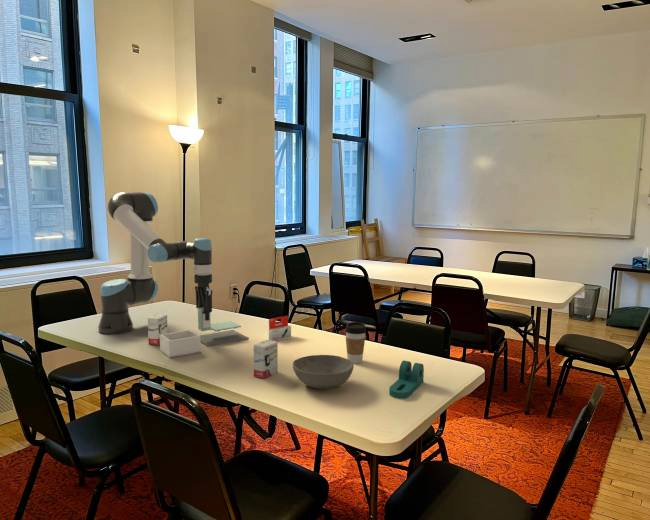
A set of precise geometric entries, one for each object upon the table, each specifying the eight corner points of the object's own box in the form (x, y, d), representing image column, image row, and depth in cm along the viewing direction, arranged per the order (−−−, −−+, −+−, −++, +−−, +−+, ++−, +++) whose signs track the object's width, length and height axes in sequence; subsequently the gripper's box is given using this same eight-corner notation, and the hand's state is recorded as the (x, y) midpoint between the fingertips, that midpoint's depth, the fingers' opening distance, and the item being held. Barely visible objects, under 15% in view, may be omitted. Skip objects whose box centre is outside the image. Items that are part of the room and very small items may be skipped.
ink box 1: (158, 345, 212) (157, 318, 211) (148, 344, 213) (147, 317, 211) (168, 339, 221) (167, 313, 219) (158, 338, 222) (157, 313, 220)
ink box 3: (291, 336, 228) (291, 316, 227) (271, 341, 221) (271, 320, 219) (288, 335, 230) (288, 315, 229) (268, 340, 223) (268, 319, 221)
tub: (160, 350, 205) (159, 334, 204) (190, 345, 213) (190, 329, 212) (169, 358, 196) (169, 341, 195) (200, 352, 204) (200, 335, 203)
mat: (193, 337, 224) (192, 336, 224) (233, 330, 236) (233, 329, 236) (207, 346, 212) (207, 345, 212) (249, 338, 224) (249, 337, 224)
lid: (195, 328, 221) (194, 306, 220) (230, 323, 232) (230, 301, 230) (205, 334, 213) (204, 311, 212) (241, 328, 223) (240, 306, 222)
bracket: (405, 379, 179) (406, 358, 178) (423, 382, 176) (424, 361, 175) (386, 396, 163) (386, 373, 162) (405, 400, 160) (406, 377, 159)
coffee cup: (367, 359, 199) (368, 323, 197) (362, 366, 191) (363, 328, 189) (347, 356, 202) (348, 320, 199) (341, 363, 194) (342, 326, 192)
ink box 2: (263, 379, 176) (263, 347, 174) (252, 376, 179) (252, 344, 177) (278, 372, 183) (278, 341, 182) (267, 369, 186) (267, 339, 184)
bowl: (281, 391, 166) (282, 368, 164) (305, 370, 185) (305, 350, 184) (342, 401, 158) (342, 377, 157) (360, 379, 178) (360, 357, 177)
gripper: (187, 271, 219) (188, 323, 223) (203, 277, 206) (204, 331, 209) (203, 270, 224) (204, 320, 227) (219, 275, 210) (220, 329, 214)
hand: (204, 326), depth 218 cm, fingers closed on lid, 4 cm apart
